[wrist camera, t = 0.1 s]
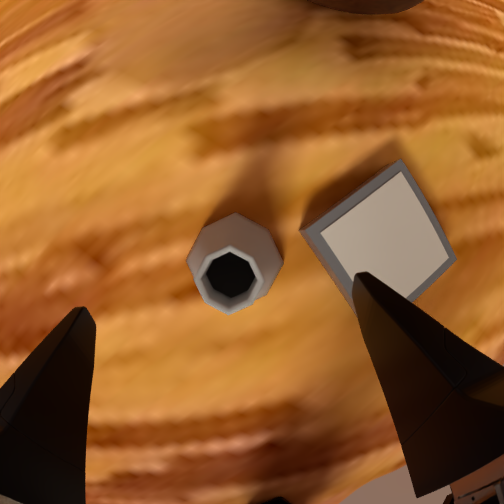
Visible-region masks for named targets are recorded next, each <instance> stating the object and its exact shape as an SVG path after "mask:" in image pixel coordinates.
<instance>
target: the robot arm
mask: <svg viewBox="0 0 504 504" xmlns="http://www.w3.org/2000/svg"><path fill="white" fill-rule="evenodd" d="M352 299H353V303H354V306H355V310H356V313H357V317H358V321H359V324H360V328H361V332H362V335H363V339H364V341H365V344H366V347H367V349H368V352H369V354H370V357H371V360H372V362H373V365H374V368H375V370H376V373H377V376H378V379H379V381H380V384H381V387H382V390H383V392H384V395H385V398H386V401H387V404H388V407H389V410H390V413H391V416H392V419H393V422H394V425H395V428H396V431H397V434H398V437H399V440H400V443H401V445H402V446H401V447H402V450H403V453H404V457H405V460H406V463H407V467H408V470H409V474H410V477H411V481H412V484H413V488H414V492H415V494H416V497H417V498H419V497H422V496H424V495H426V494H429V493H431V492H434V491H436V490H438V489H440V488H442V487H445V486H447V485H450V488H451V491H452V493H451V494H449V495H447V497H446V499H445V501H444V502H443V504H504V366H502V365H500V364H499V363H497V362H496V361H494V360H492V359H491V358H489V357H488V356H486V355H485V354H483V353H481V352H480V351H478V350H477V349H475V348H474V347H472V346H471V345H469V344H468V343H466V342H465V341H463V340H462V339H461V338H459V337H458V336H456V335H455V334H454V333H452V332H451V331H450V330H448V329H447V328H444V326H443V325H442V324H440V323H439V322H438V321H436V320H435V319H433V318H432V317H431V316H429V315H428V314H427V313H425V312H424V311H423V310H421V309H420V308H419V307H417V306H416V305H414V304H413V303H412V302H410V301H409V300H407V299H406V298H405V297H403V296H402V295H401V294H399V293H398V292H396V291H395V290H393V289H392V288H391V287H389V286H388V285H386V284H385V283H384V282H382V281H381V280H379V279H378V278H376V277H375V276H374V275H372V274H371V273H369V272H367V271H364V272H358V273H356V274H355V275H354V281H353V287H352ZM95 340H96V324H95V321H94V320H93V318H92V316H91V315H90V313H89V311H88V310H87V308H86V307H84V306H82V307H75V308H73V309H72V310H71V311H70V312H69V313H68V314H67V315H66V316H65V317H64V319H63V320H62V321H61V322H60V323H59V324H58V325H57V326H56V327H55V328H54V329H53V330H52V331H51V332H50V333H49V334H48V335H47V336H46V337H45V339H44V340H43V341H42V342H41V343H40V344H39V345H38V346H37V347H36V348H35V349H34V350H33V352H32V353H31V354H30V355H29V356H28V357H27V358H26V359H25V361H24V362H23V363H22V364H21V365H20V366H19V367H18V369H17V370H16V371H15V373H13V374H12V375H11V377H10V378H9V379H8V380H7V381H6V382H5V384H4V385H3V386H2V387H1V388H0V504H86V500H85V462H86V439H87V425H88V413H89V403H90V394H91V386H92V378H93V370H94V357H95ZM263 504H291V503H289V502H288V501H287V500H285V499H284V498H282V497H277V498H274V499H272V500H270V501H267V502H265V503H263Z"/></svg>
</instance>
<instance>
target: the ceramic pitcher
mask: <svg viewBox="0 0 504 504" xmlns="http://www.w3.org/2000/svg"><path fill="white" fill-rule="evenodd" d="M308 1H310V2H313V3H316V4H319V5H322V6H325V7H328V8H332V9H335V10H339V11H344V12H349V13H356V14H392V13H398V12H401V11H404V10H407V9H409V8H411V7H413V6H415V5H417V4H419V3H421V2H422V1H423V0H308Z"/></svg>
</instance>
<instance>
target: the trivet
mask: <svg viewBox="0 0 504 504" xmlns="http://www.w3.org/2000/svg"><path fill="white" fill-rule="evenodd" d="M299 232H300V233H301V235H302V236H303V237H304V239H305V240H306V242H307V243H308V245H309V246H310V247H311V249H312V250H313V252H314V253H315V255H316V256H317V258H318V259H319V261H320V262H321V263H322V265H323V266H324V268H325V269H326V271H327V272H328V274H329V275H330V277H331V278H332V280H333V281H334V283H335V284H336V286H337V287H338V289H339V290H340V292H341V293H342V295H343V296H344V298H345V299H346V301H347V302H348V304H349V305H350V307H351V308H352V310H353V311H354V313H355V314H356V316H357V313H356V310H355V306H354V303H353V299H352V287H353V281H354V275H355V274H356V273H358V272H364V271H367V272H369V273H371V274H372V275H374V276H375V277H376V278H378V279H379V280H381V281H382V282H384V283H385V284H386V285H388V286H389V287H391V288H392V289H393V290H395V291H396V292H398V293H399V294H401V295H402V296H403V297H405V298H406V299H407V300H409V301H410V302H413V301H414V300H415V299H416V298H418V297H419V296H420V295H421V294H422V293H423V292H424V291H425V290H426V289H427V288H428V287H429V286H430V285H432V284H433V283H434V282H435V281H436V280H437V279H438V278H439V277H440V276H441V275H442V274H443V273H444V272H445V271H446V270H447V269H448V268H449V267H450V266H451V265H452V264H453V263H454V262H455V261H456V260H457V258H456V256H455V254H454V252H453V250H452V248H451V246H450V244H449V242H448V240H447V238H446V236H445V234H444V232H443V230H442V228H441V226H440V224H439V222H438V220H437V218H436V216H435V215H434V213H433V211H432V209H431V207H430V206H429V204H428V202H427V200H426V199H425V197H424V195H423V193H422V192H421V190H420V188H419V187H418V185H417V183H416V182H415V180H414V178H413V177H412V175H411V174H410V172H409V170H408V169H407V167H406V166H405V164H404V163H403V161H402V159H399V160H397V161H394V162H392V163H390V164H388V165H387V166H385V167H384V168H382V169H381V170H380V171H378V172H377V173H376V174H374V175H373V176H372V177H370V178H369V179H368V180H366V181H365V182H364V183H362V184H361V185H360V186H358V187H357V188H356V189H354V190H353V191H352V192H350V193H349V194H348V195H346V196H345V197H344V198H342V199H341V200H339V201H338V202H337V203H335V204H334V205H333V206H331V207H330V208H329V209H327V210H326V211H325V212H323V213H322V214H321V215H319V216H318V217H316V218H315V219H314V220H312V221H311V222H310V223H308V224H307V225H306V226H304V227H303V228H301V229H300V230H299ZM357 318H358V317H357Z"/></svg>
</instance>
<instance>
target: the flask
mask: <svg viewBox="0 0 504 504" xmlns="http://www.w3.org/2000/svg"><path fill="white" fill-rule="evenodd" d="M186 262H187V264H188V266H189V268H190V270H191V272H192V275H193V277H194V281H195V283H196V285H197V288H198V290H199V292H200V294H201V296H202V298H203V300H204V302H205V303H206V304H208V305H210V306H212V307H214V308H216V309H218V310H220V311H222V312H223V313H225V314H227V315H230V314H232V313H235V312H237V311H239V310H241V309H243V308H246V307H248V306H250V305H252V304H253V303H254V301H255V300H257V299H259V298H261V297H263V296H265V295H267V293H268V291H269V289H270V287H271V286H272V284H273V282H274V280H275V278H276V277H277V275H278V273H279V271H280V269H281V267H282V265H283V264H284V262H283V260H282V258H281V256H280V253H279V251H278V249H277V247H276V245H275V243H274V240H273V238H272V236H271V234H270V232H269V230H268V229H266V228H265V227H263V226H261V225H259V224H257V223H255V222H253V221H252V220H250V219H248V218H246V217H244V216H242V215H240V214H239V213H237V212H235V213H233V214H231V215H229V216H227V217H224V218H222V219H220V220H218V221H216V222H214V223H212V224H210V225H207V226H205V227H203V228H202V230H201V232H200V234H199V236H198V237H197V239H196V241H195V243H194V245H193V247H192V249H191V251H190V253H189V255H188V257H187V259H186Z"/></svg>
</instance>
